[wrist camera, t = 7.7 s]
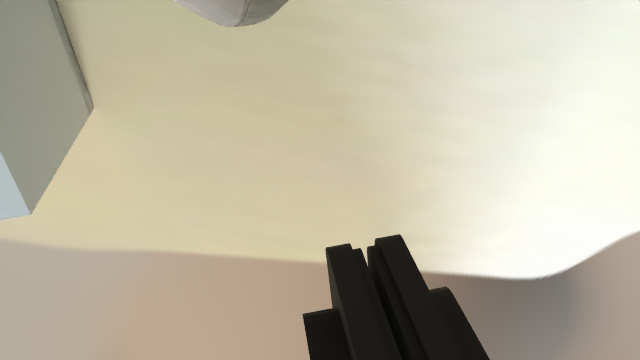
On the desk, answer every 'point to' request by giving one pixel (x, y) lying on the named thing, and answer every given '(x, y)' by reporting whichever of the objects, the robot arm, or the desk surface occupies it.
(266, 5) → the digital clock
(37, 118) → the light blue pen cup
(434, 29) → the desk surface
